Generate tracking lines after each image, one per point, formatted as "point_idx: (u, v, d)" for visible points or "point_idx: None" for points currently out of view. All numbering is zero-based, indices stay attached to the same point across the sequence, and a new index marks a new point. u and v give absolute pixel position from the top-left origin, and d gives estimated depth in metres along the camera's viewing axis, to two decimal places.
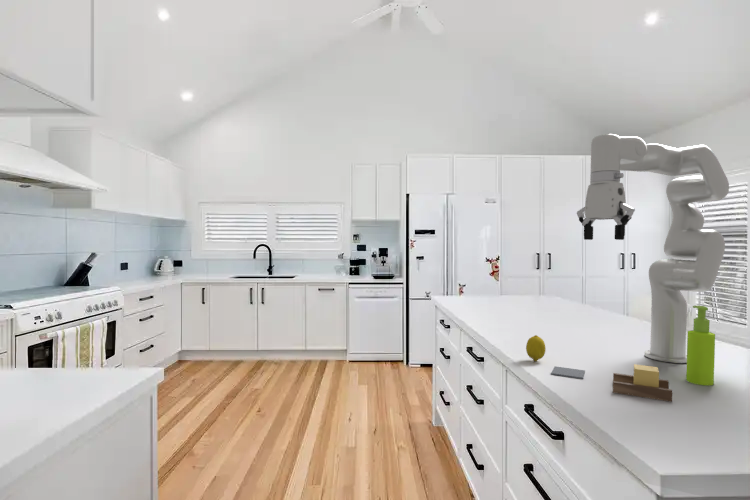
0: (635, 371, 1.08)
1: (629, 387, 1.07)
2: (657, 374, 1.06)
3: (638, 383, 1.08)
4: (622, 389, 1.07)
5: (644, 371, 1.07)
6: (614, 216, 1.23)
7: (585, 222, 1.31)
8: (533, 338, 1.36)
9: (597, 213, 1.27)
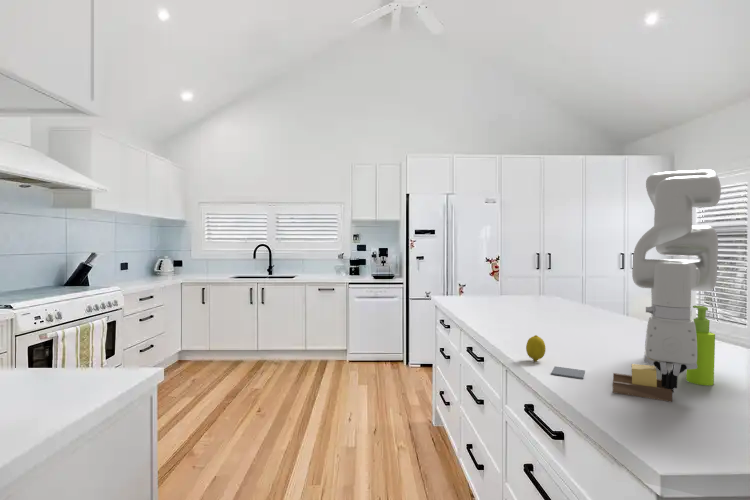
0: (633, 371, 1.08)
1: (629, 387, 1.07)
2: (654, 373, 1.06)
3: (636, 383, 1.08)
4: (622, 389, 1.07)
5: (641, 370, 1.07)
6: None
7: None
8: (533, 338, 1.36)
9: None
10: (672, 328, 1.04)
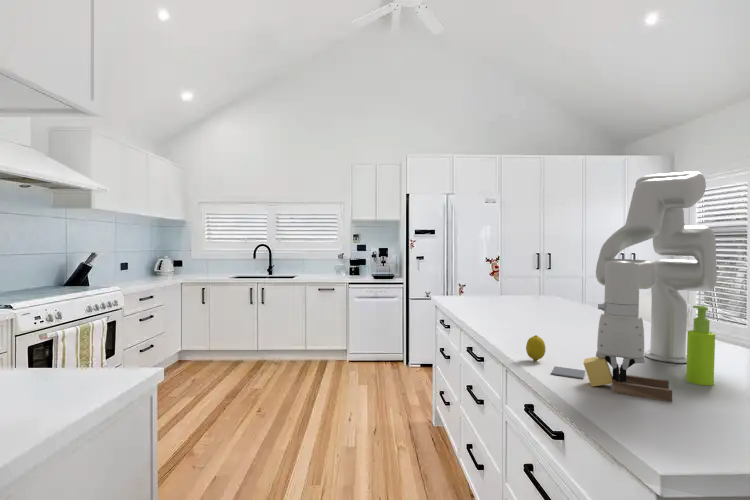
0: (585, 365, 1.13)
1: (629, 387, 1.07)
2: (604, 362, 1.11)
3: (591, 375, 1.13)
4: (622, 389, 1.07)
5: (592, 362, 1.12)
6: None
7: None
8: (533, 338, 1.36)
9: None
10: (620, 324, 1.09)
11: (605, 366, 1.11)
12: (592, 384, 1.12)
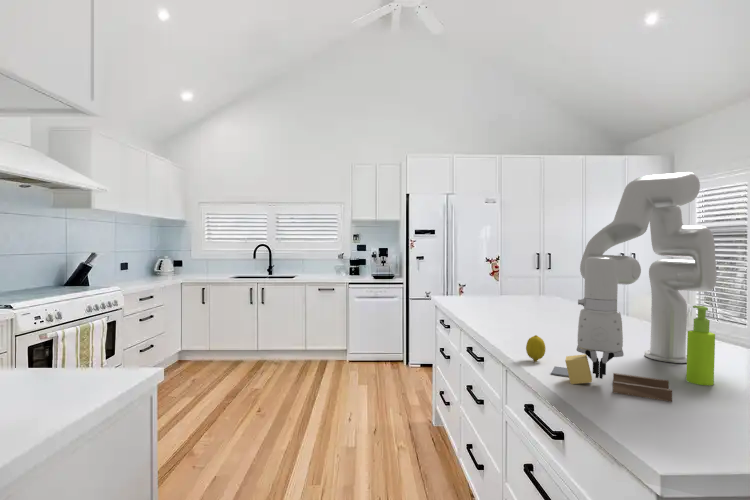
0: (566, 362, 1.15)
1: (629, 387, 1.07)
2: (585, 361, 1.13)
3: (572, 373, 1.14)
4: (622, 389, 1.07)
5: (574, 361, 1.14)
6: None
7: None
8: (533, 338, 1.36)
9: None
10: (599, 319, 1.12)
11: (586, 365, 1.13)
12: (572, 381, 1.14)
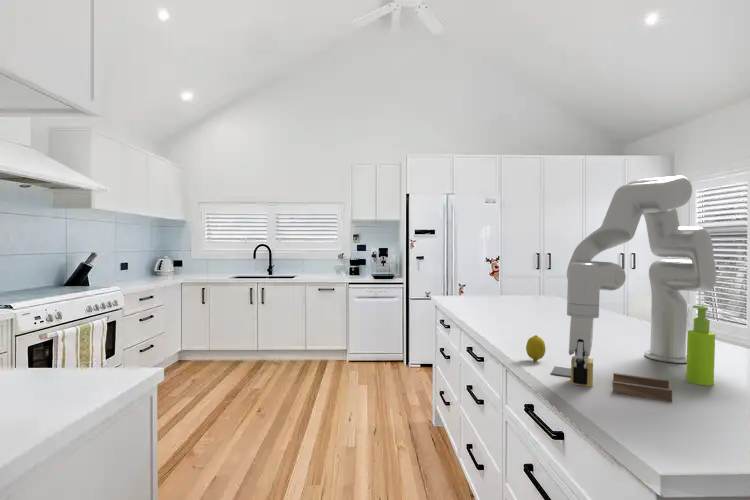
0: (572, 362, 1.15)
1: (629, 387, 1.07)
2: (591, 365, 1.13)
3: None
4: (622, 389, 1.07)
5: None
6: None
7: None
8: (533, 338, 1.36)
9: None
10: None
11: (591, 369, 1.13)
12: (572, 382, 1.15)
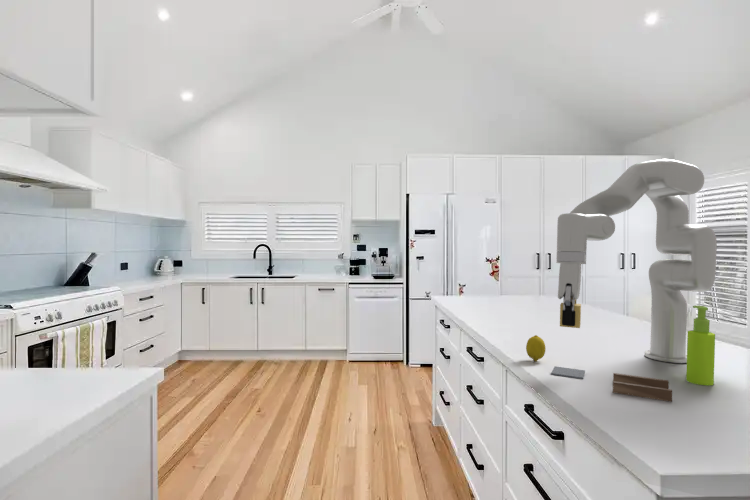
0: (561, 306, 1.23)
1: (629, 387, 1.07)
2: (579, 308, 1.21)
3: None
4: (622, 389, 1.07)
5: None
6: None
7: None
8: (533, 338, 1.36)
9: (578, 294, 1.23)
10: None
11: (578, 312, 1.21)
12: (561, 324, 1.23)
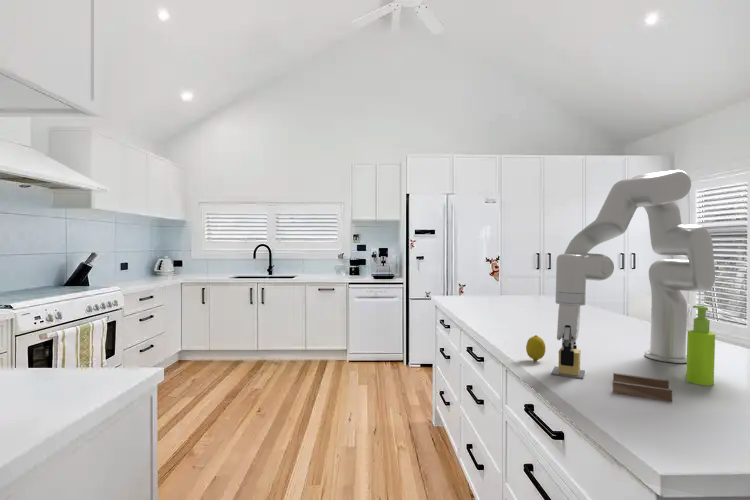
0: (559, 353, 1.23)
1: (629, 387, 1.07)
2: (577, 355, 1.21)
3: None
4: (622, 389, 1.07)
5: None
6: None
7: (572, 347, 1.20)
8: (533, 338, 1.36)
9: None
10: None
11: (577, 359, 1.21)
12: (559, 370, 1.23)
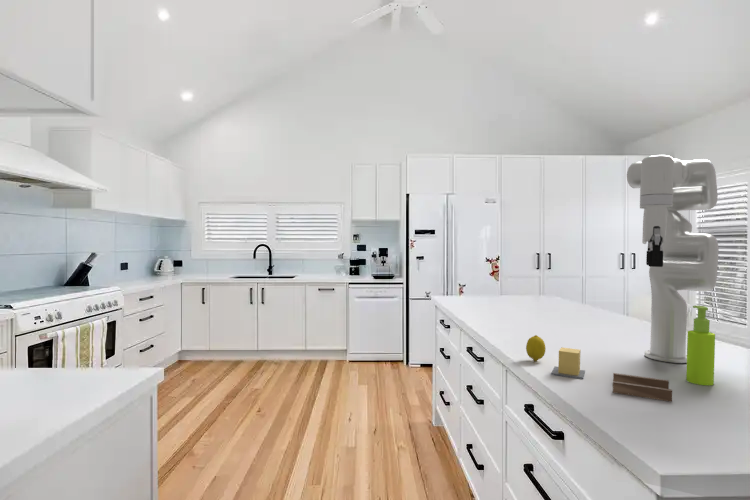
0: (559, 353, 1.23)
1: (629, 387, 1.07)
2: (577, 355, 1.21)
3: (562, 363, 1.23)
4: (622, 389, 1.07)
5: (566, 352, 1.22)
6: None
7: None
8: (533, 338, 1.36)
9: None
10: None
11: (577, 359, 1.21)
12: (559, 370, 1.23)
